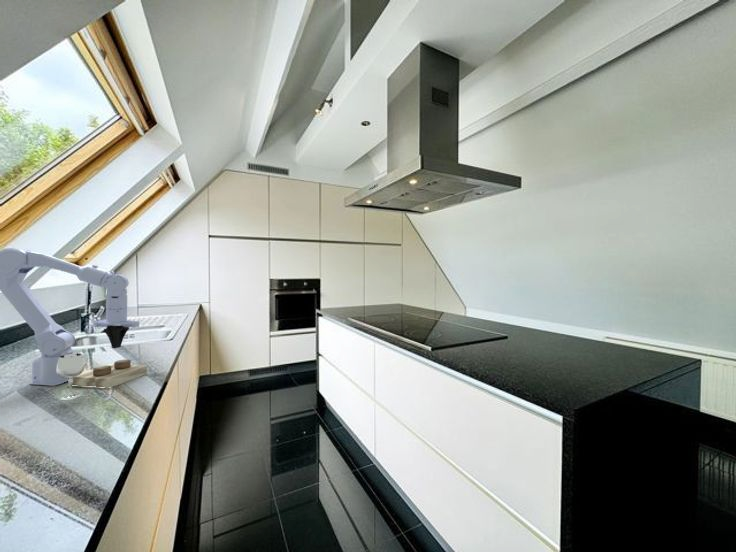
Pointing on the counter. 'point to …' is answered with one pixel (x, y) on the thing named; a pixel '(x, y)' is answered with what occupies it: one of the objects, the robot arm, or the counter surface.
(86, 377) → the knob panel
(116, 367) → the knob
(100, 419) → the counter surface
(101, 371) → the knob
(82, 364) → the wineglass
